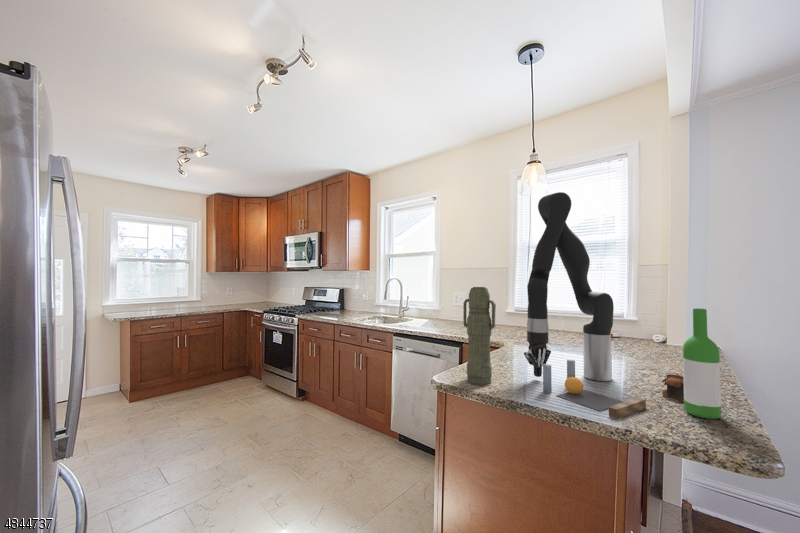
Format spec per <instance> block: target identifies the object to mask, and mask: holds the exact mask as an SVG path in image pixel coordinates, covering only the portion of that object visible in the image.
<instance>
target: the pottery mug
mask: <svg viewBox="0 0 800 533" xmlns="http://www.w3.org/2000/svg"><path fill="white" fill-rule="evenodd" d="M661 382H662V383H664V384H663V385H664V386H666V389H663V390H662V392H661V393H662V398H668V399H672V400H675V401H678V402H681V403H684V379H683V375H678V374H667V375H666V376H665V378H664V379H663V380H662V381H661Z"/></svg>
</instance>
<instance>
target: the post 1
mask: <svg viewBox="0 0 800 533" xmlns="http://www.w3.org/2000/svg"><path fill="white" fill-rule="evenodd" d="M542 392H544V393H545V394H552V364H549V363H546V364H543V366H542Z"/></svg>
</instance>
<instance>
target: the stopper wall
mask: <svg viewBox="0 0 800 533" xmlns="http://www.w3.org/2000/svg"><path fill="white" fill-rule="evenodd" d="M644 409H647V399H646V398H642V397H636V398H632V399H629V400H627V401H626V400H625V401H623V403H620V404H617V405H614V406H611V407H609V409H608V417H610V418H613V419H616V420H617V419H620V418H622V417H625V416H628V415H631V414H634V413H636V412H639V411H641V410H644Z"/></svg>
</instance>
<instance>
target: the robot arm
mask: <svg viewBox="0 0 800 533" xmlns="http://www.w3.org/2000/svg"><path fill="white" fill-rule="evenodd" d="M571 208H572V199H571V197H570V195H569V194H567V193H566V192H562V191H558V192H554V193H550V194H546V195H544V196H543V197H541V198H540V199H539V201H538V203H537V210H538V213H539V216H540V217H541V219H542V221H543V222H544V224H545V229H544V231H543V233H542V236H541V237H540V239H539V241H538V243H537V244H536V247H535V250H534V254H533V258H532V264H531V271H530V275H529V279H528V282H527V285H526V288H527V304H528V305H527V321H526V342H528V346H527V348H528V350H527V351H526V352H524V353H523V355H524V357H525V358H526V360H527V362H528V364H529V365H531V366H533V376H535V377H537V378H541V377H543V364H547V362H548V360H549V358H550V355H551V354H552V351H551V350H549V349H548V346H547V345H548V344H549V341H550V340H549V321H548V320H549V319H548V317H549V315H548V291H549V290H548V289H549V288H548V287H549V286H548V284H549V277H550V272H551V270H552V268H553V264H554V260H555V255H556V250H557V252H558V255H559V258H560V260H561V262H562V265H563V267H564V269H565V272H566V274H567V276H568V279H569V282H570V284H571V286H572V289H573V294H574V297H575V300H576V304H577V307H578V308H579V310H580V311H581V313H583V314H585V315H588V316H592V321H591V322H590V323H589V322H588V323H586V324H584V325H583V327H582V330H583V331H582V335H583V337H582V338H583V339H582V340H583V342H582V343H583V344H582V345H583V376H584V377H585V378H586V379H589V380H592V381H597V382H610V381H612V379H613V362H612V360H613V359H612V358H613V355H612V328H613V325H614V311H615V310H614V308H615V307H614V306H615V305H614V301H613V297H612V296H611V295H610V294H609V293H607V292H603V291H602V292H601V291H598V292H596V291H592V288H591V286H590V284H589V281H588V275H589V274H588V273H589V268H590V263H591V262H590V259H591V258H590V256H589V253H588V251H587V249H586V248H585V244H584V243H583V242H582V240H581V239H580V238H579V237H578V235H576V234H575V233H574V231H573V230H572V229H571V228H570V227H569V226H568V224H567V219H568V217H569V215H570V212H571Z"/></svg>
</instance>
